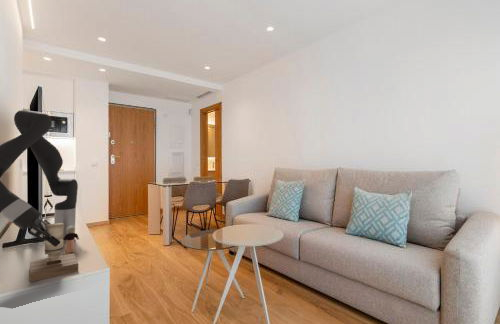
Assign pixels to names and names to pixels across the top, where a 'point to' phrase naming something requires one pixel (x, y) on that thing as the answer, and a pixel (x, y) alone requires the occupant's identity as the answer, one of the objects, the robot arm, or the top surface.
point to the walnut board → (53, 267)
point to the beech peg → (57, 232)
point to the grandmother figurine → (70, 240)
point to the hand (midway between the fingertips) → (60, 242)
